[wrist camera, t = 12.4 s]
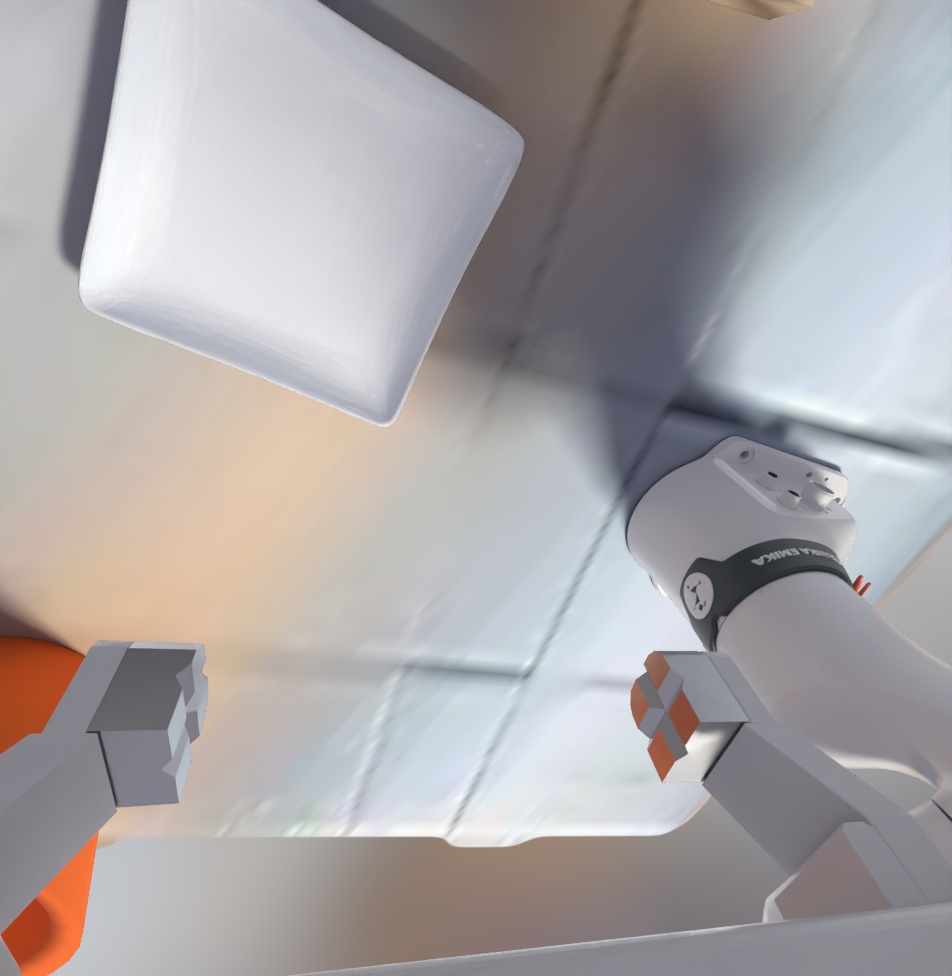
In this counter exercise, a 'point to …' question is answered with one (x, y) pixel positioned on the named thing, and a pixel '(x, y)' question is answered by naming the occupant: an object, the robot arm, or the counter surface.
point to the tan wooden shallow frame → (767, 6)
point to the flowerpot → (63, 902)
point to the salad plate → (288, 196)
